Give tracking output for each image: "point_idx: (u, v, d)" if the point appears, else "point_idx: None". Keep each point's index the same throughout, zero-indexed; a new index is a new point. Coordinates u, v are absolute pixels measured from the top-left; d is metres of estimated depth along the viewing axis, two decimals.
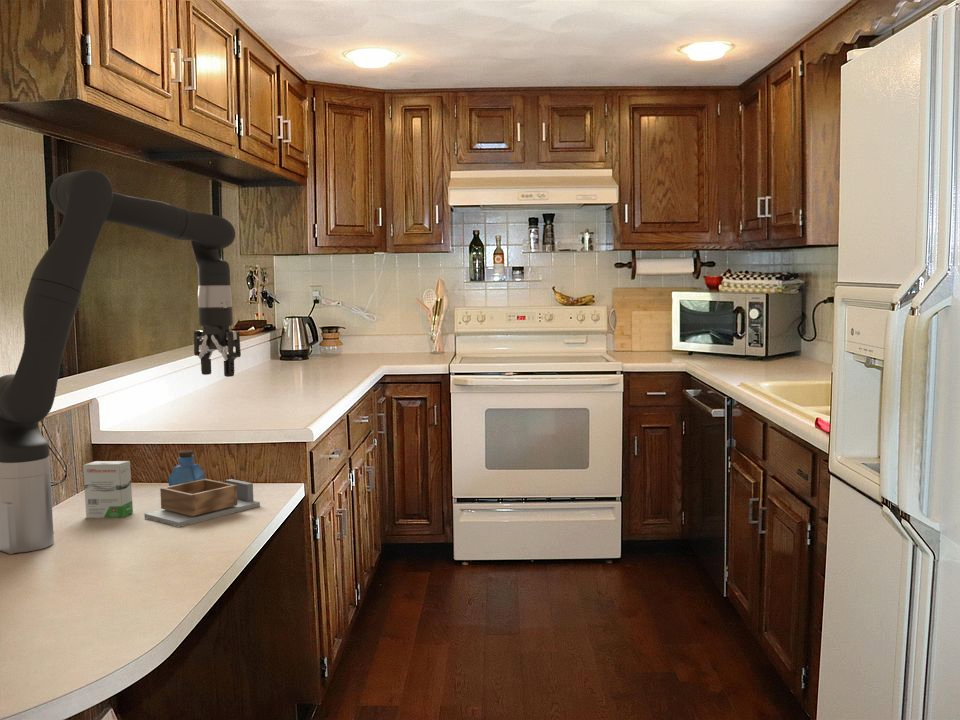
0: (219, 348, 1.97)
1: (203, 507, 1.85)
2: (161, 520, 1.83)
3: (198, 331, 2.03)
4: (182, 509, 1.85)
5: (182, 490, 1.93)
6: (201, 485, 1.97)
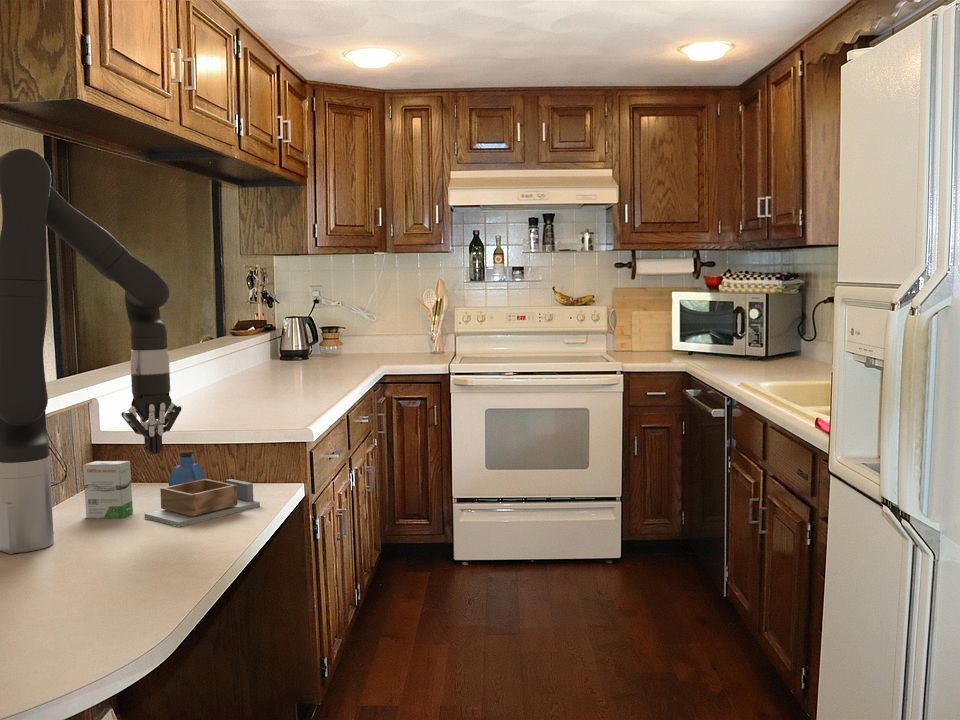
0: (162, 420, 1.81)
1: (203, 507, 1.85)
2: (161, 520, 1.83)
3: (129, 412, 1.76)
4: (182, 509, 1.85)
5: (182, 490, 1.93)
6: (201, 485, 1.97)
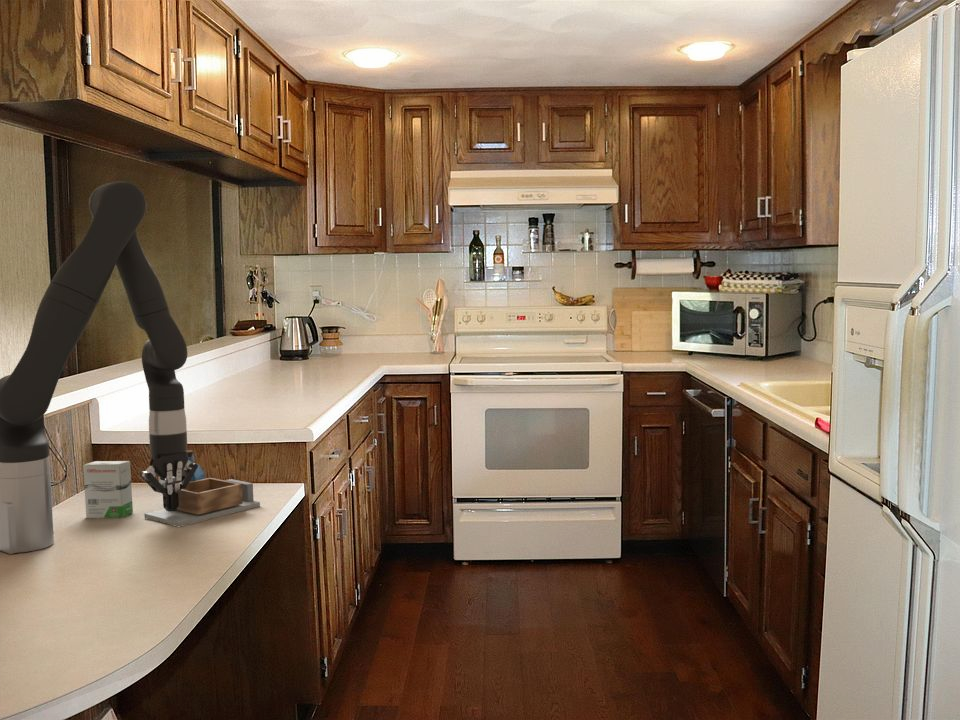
0: (179, 478, 1.85)
1: (209, 506, 1.86)
2: (161, 520, 1.83)
3: (148, 472, 1.80)
4: (188, 507, 1.86)
5: (187, 489, 1.94)
6: (206, 484, 1.98)
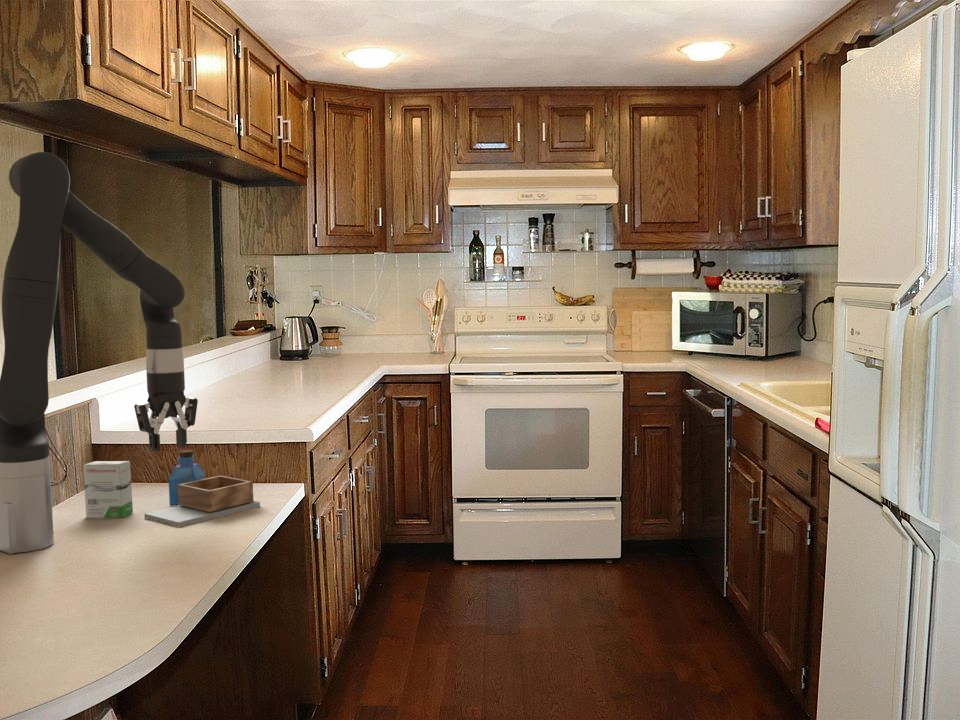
0: (182, 416, 1.85)
1: (220, 503, 1.88)
2: (161, 520, 1.83)
3: None
4: (199, 505, 1.88)
5: (198, 486, 1.96)
6: (217, 482, 2.00)
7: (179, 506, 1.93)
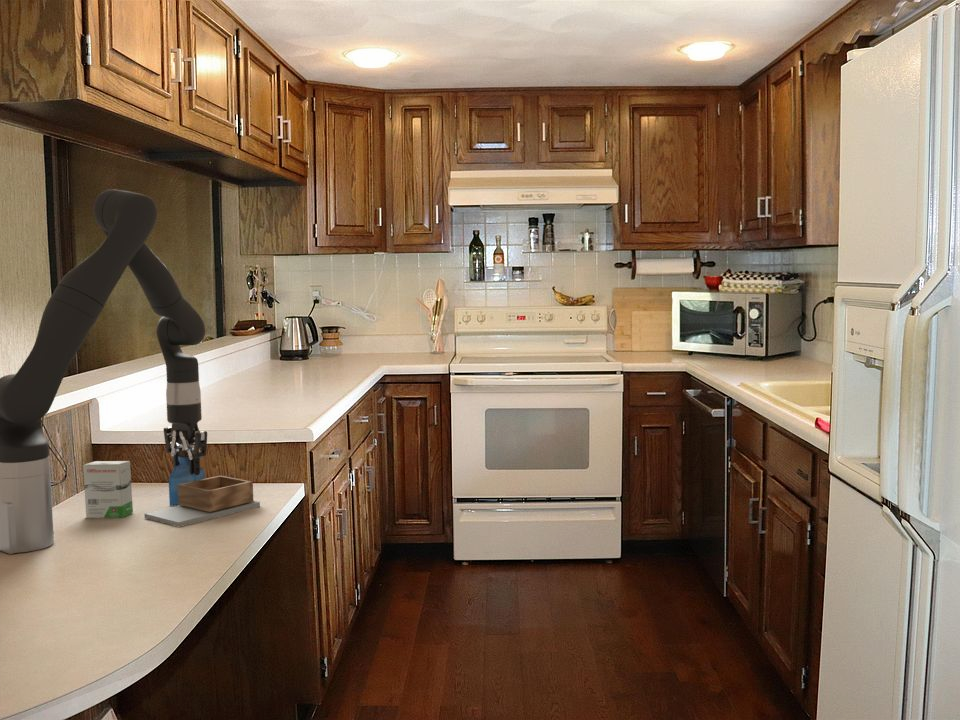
0: None
1: (220, 503, 1.88)
2: (161, 520, 1.83)
3: None
4: (199, 505, 1.88)
5: (198, 486, 1.96)
6: (217, 482, 2.00)
7: (179, 506, 1.93)
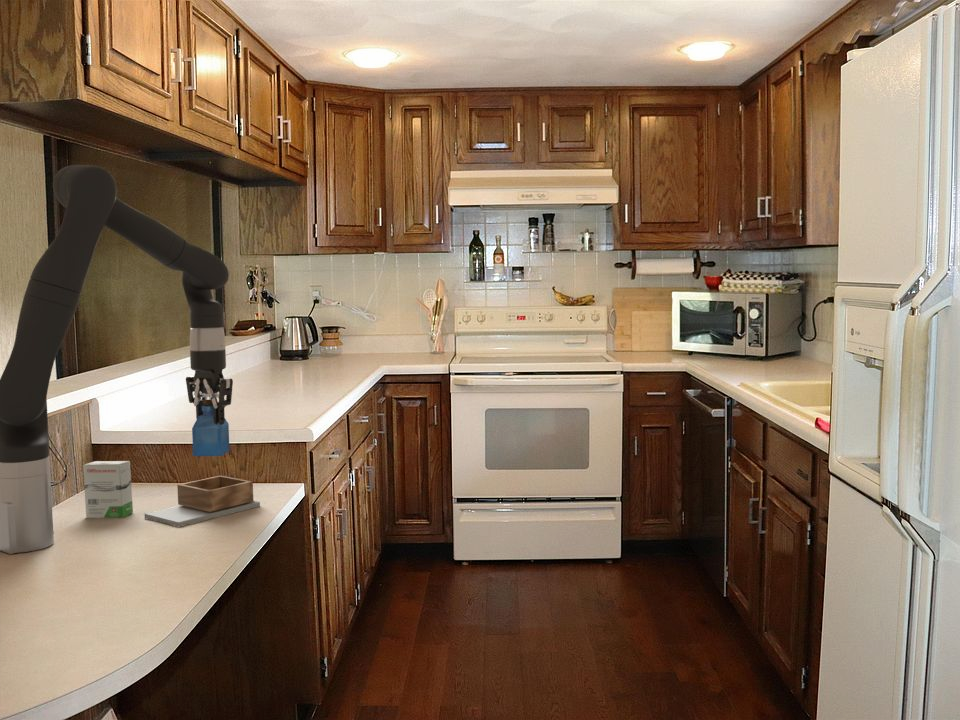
0: None
1: (220, 503, 1.88)
2: (161, 520, 1.83)
3: None
4: (199, 505, 1.88)
5: (198, 486, 1.96)
6: (217, 482, 2.00)
7: (179, 506, 1.93)
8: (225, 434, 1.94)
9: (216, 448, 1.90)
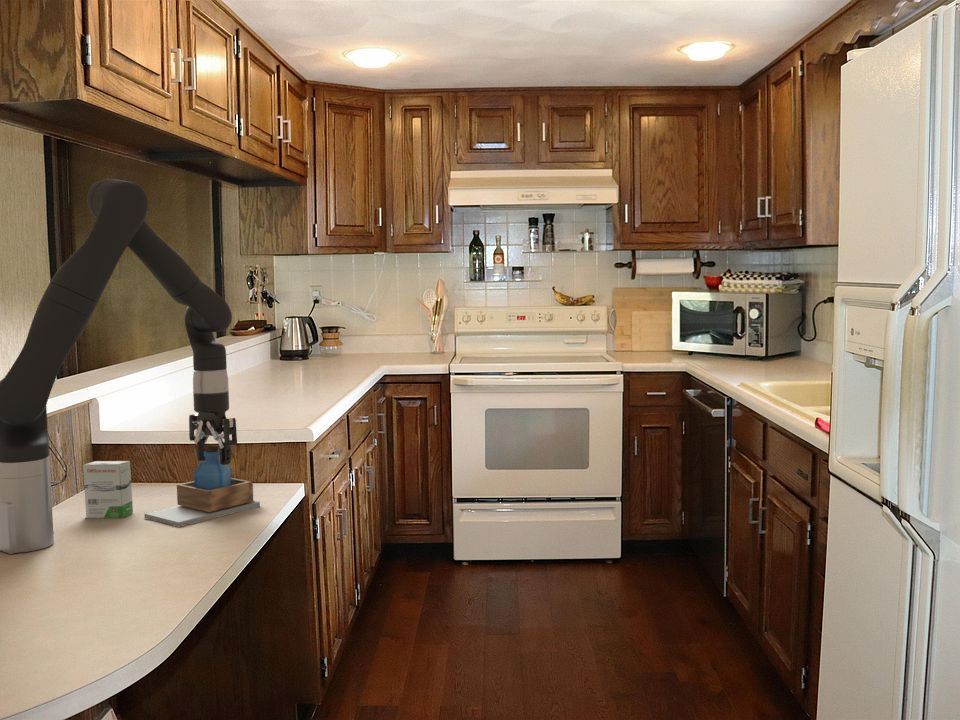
0: None
1: (219, 503, 1.88)
2: (161, 520, 1.83)
3: None
4: (199, 505, 1.88)
5: None
6: None
7: (179, 506, 1.93)
8: (227, 479, 1.94)
9: None
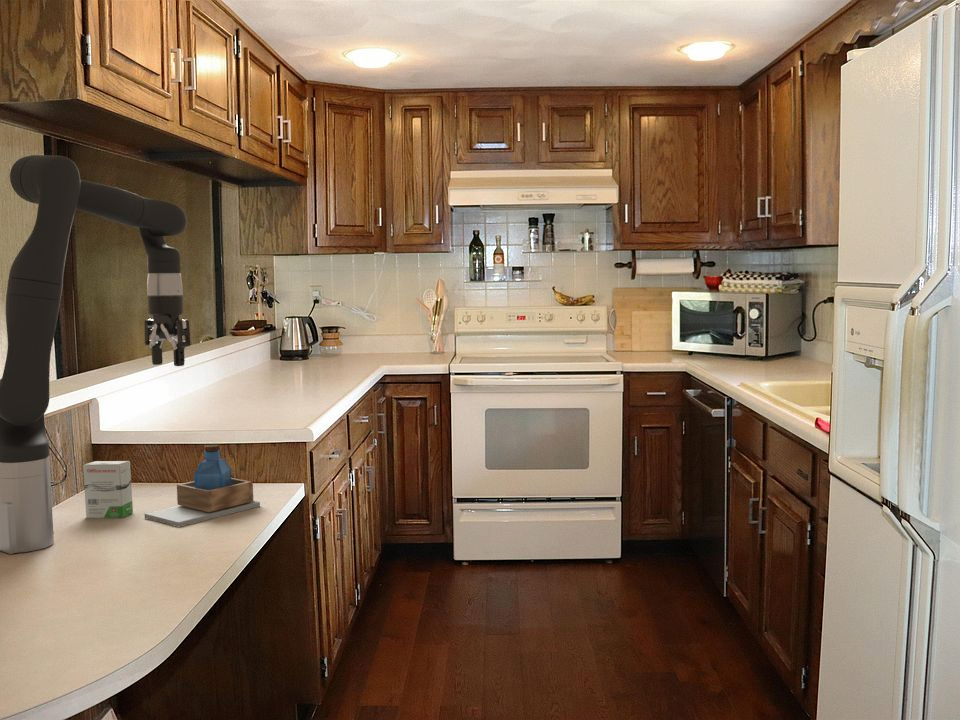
0: None
1: (219, 503, 1.88)
2: (161, 520, 1.83)
3: None
4: (199, 505, 1.88)
5: None
6: None
7: (179, 506, 1.93)
8: (227, 479, 1.94)
9: None
